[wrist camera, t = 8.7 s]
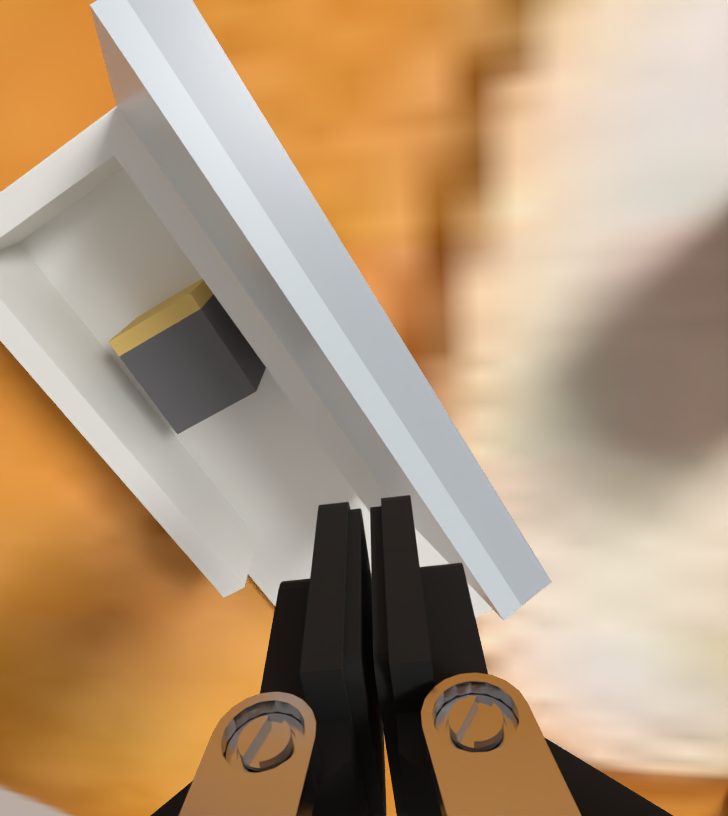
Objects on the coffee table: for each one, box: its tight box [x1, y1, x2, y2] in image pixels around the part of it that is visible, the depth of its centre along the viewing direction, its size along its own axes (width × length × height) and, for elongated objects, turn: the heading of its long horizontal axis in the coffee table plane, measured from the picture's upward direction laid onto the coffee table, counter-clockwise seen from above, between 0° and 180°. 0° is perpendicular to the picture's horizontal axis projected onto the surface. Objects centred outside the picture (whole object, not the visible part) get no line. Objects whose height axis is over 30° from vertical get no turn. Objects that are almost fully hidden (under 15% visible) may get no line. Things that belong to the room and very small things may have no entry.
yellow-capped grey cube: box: [109, 278, 266, 434], centre depth 24 cm, size 4×3×3 cm
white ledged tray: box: [0, 106, 493, 618], centre depth 26 cm, size 25×9×4 cm, turn 32°
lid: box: [90, 0, 551, 620], centre depth 18 cm, size 16×8×2 cm
